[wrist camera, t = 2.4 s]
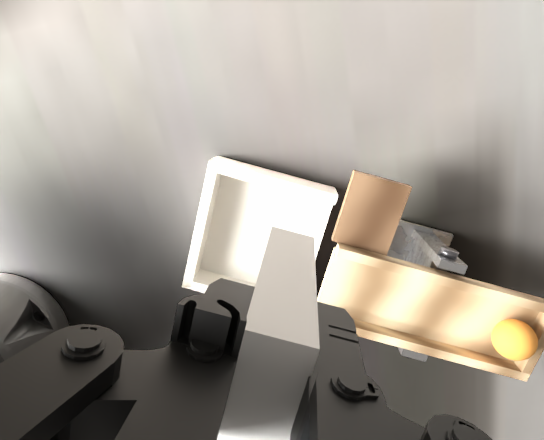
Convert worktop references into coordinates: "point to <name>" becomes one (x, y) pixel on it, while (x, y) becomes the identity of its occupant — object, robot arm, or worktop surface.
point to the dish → (249, 219)
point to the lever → (417, 289)
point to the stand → (424, 256)
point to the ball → (514, 339)
